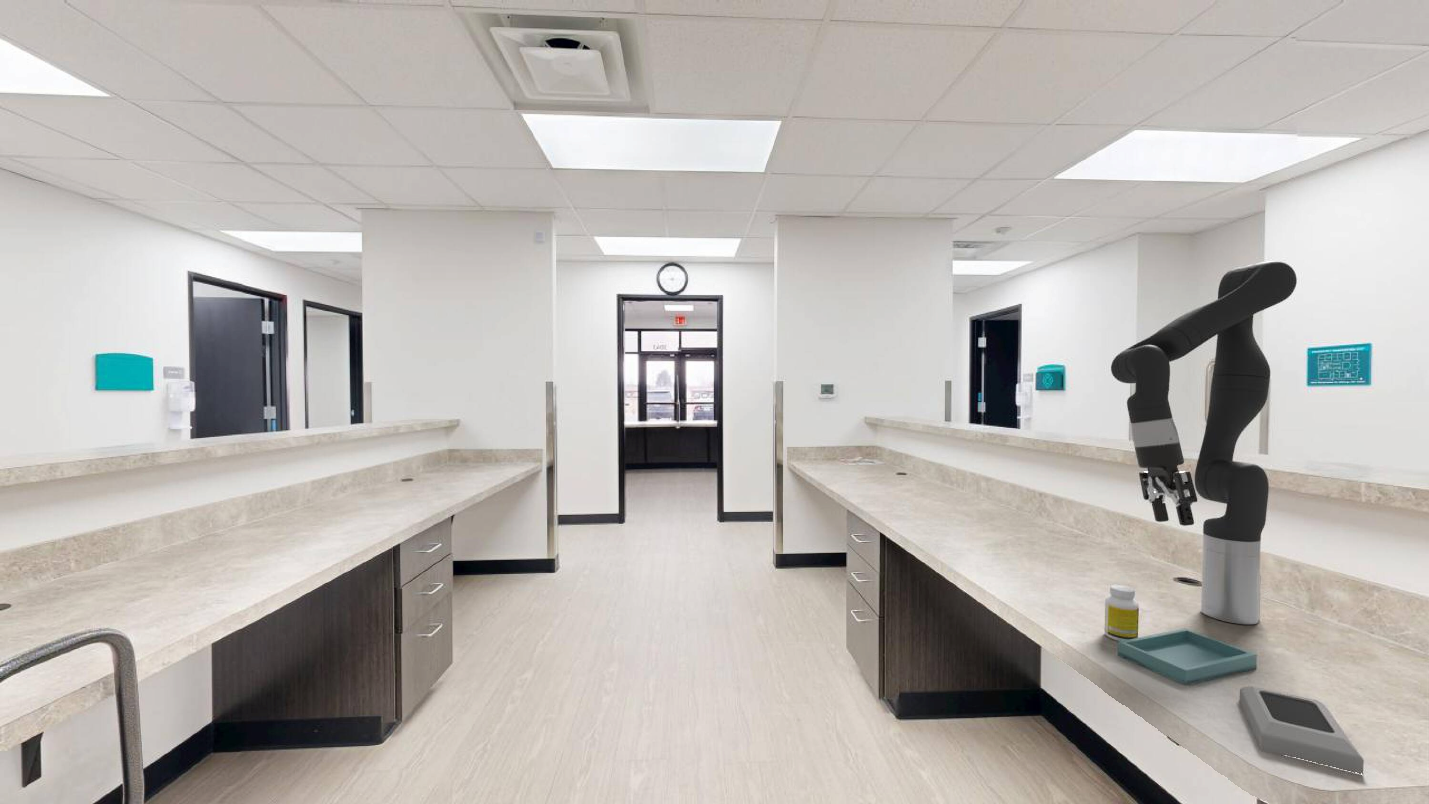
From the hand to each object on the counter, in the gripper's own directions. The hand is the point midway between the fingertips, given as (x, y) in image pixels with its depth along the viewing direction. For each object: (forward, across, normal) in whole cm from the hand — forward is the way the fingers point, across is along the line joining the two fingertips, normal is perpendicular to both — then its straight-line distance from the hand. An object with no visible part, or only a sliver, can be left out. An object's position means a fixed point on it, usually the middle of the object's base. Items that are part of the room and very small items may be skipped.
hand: (1174, 523), depth 118 cm
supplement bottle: (+20, -3, +15) cm, 26 cm away
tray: (+22, -12, +9) cm, 27 cm away
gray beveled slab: (+26, -33, +8) cm, 43 cm away
